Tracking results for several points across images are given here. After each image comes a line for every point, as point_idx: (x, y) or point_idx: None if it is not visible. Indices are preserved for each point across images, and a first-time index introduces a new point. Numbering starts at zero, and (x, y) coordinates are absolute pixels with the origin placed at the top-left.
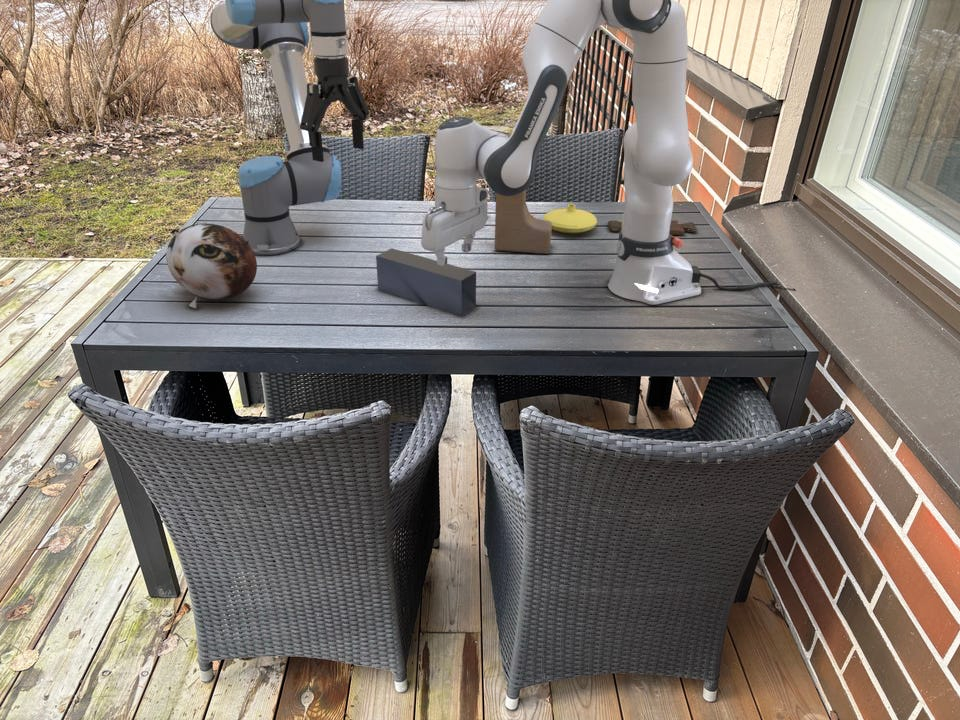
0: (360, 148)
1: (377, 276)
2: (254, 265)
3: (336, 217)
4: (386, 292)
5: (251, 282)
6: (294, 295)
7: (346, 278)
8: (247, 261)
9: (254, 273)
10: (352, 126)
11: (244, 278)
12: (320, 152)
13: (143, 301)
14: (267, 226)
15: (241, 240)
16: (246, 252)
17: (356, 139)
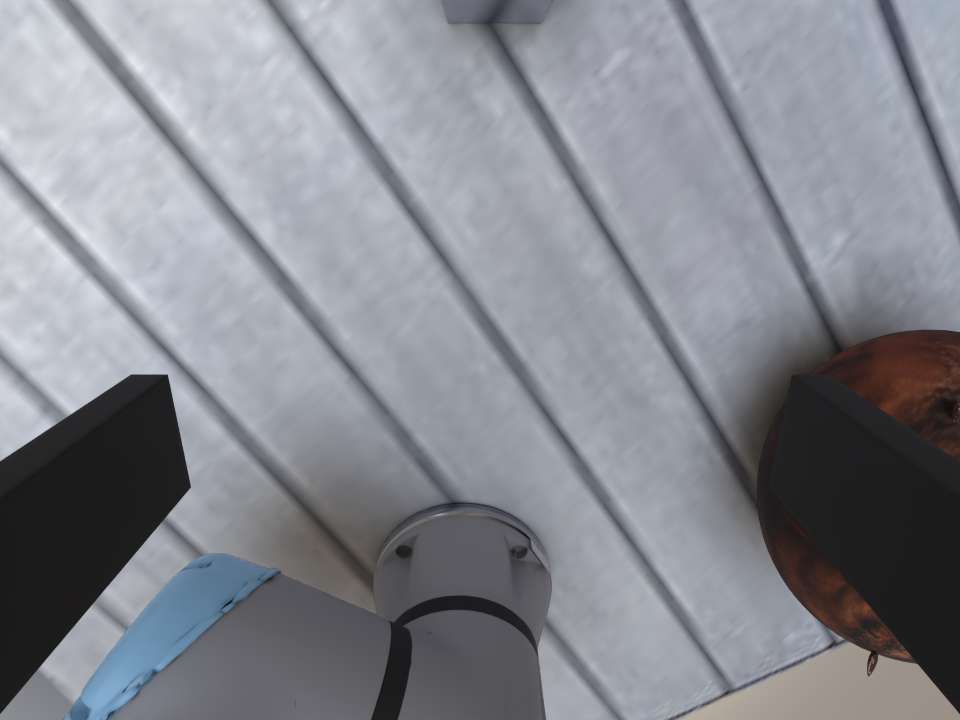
0: (166, 396)
1: (547, 10)
2: (893, 352)
3: (159, 585)
4: None
5: (865, 341)
6: (725, 254)
7: (524, 204)
8: (957, 354)
9: (878, 342)
10: (19, 671)
11: (945, 330)
12: (895, 423)
13: None
14: (514, 600)
15: (947, 443)
16: (956, 383)
17: (122, 495)
